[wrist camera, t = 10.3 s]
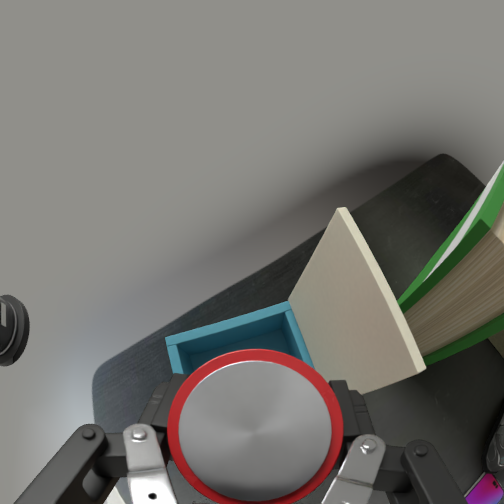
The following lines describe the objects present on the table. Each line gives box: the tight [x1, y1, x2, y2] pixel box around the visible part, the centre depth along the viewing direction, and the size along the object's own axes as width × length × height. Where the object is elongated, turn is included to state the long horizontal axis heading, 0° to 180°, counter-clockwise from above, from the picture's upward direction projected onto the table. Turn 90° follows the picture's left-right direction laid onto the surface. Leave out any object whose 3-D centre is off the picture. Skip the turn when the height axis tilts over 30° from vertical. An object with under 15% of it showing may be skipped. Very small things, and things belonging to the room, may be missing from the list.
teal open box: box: [165, 301, 315, 375], centre depth 30 cm, size 13×11×7 cm
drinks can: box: [167, 349, 344, 504], centre depth 13 cm, size 6×6×10 cm
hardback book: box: [397, 161, 504, 366], centre depth 26 cm, size 18×7×24 cm, turn 130°
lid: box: [288, 207, 426, 395], centre depth 22 cm, size 14×11×1 cm
